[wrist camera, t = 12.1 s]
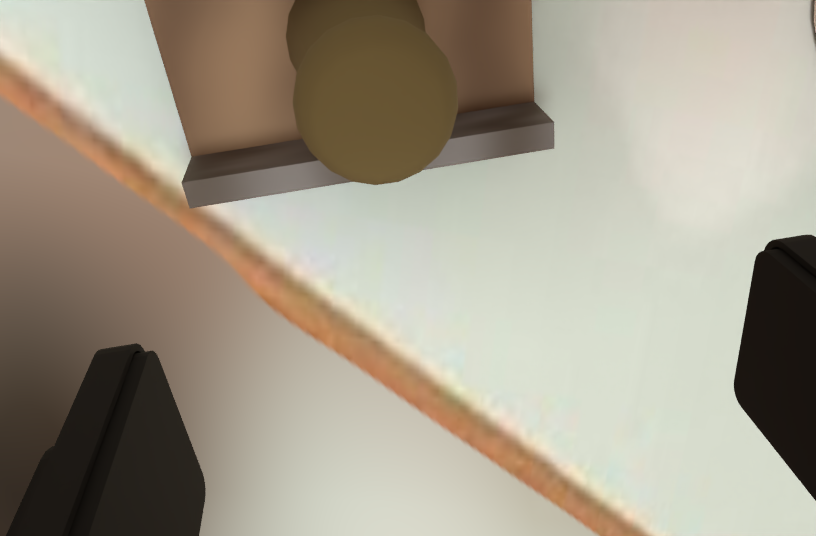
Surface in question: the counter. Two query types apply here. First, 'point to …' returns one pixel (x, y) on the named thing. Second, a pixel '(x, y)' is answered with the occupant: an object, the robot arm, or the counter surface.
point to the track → (275, 81)
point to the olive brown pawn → (370, 87)
